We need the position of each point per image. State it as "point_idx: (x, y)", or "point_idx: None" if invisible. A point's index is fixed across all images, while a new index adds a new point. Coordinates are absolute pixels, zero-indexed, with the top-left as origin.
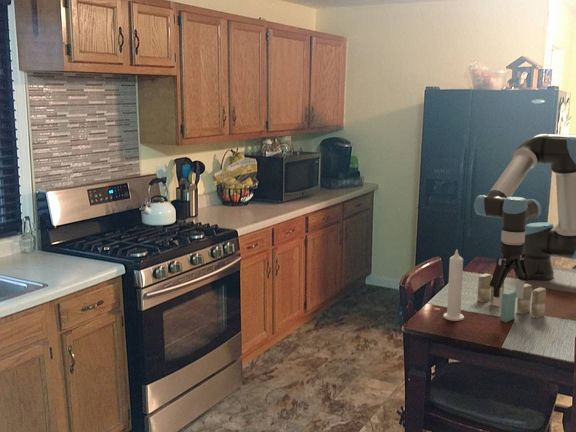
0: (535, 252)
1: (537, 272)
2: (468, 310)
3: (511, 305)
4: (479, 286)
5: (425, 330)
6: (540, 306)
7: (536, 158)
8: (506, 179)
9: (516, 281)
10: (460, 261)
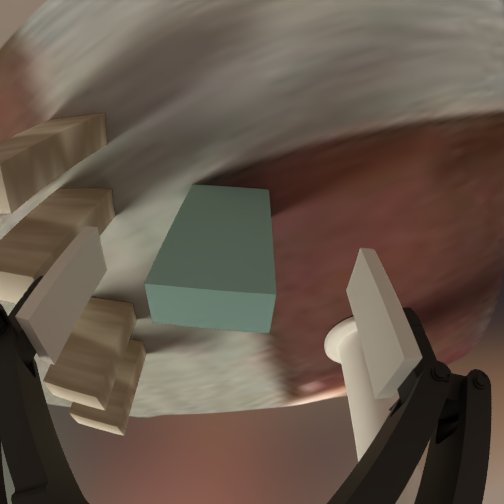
0: None
1: None
2: (255, 341)
3: (217, 228)
4: (132, 397)
5: (482, 323)
6: (46, 130)
7: None
8: None
9: (59, 351)
10: None
